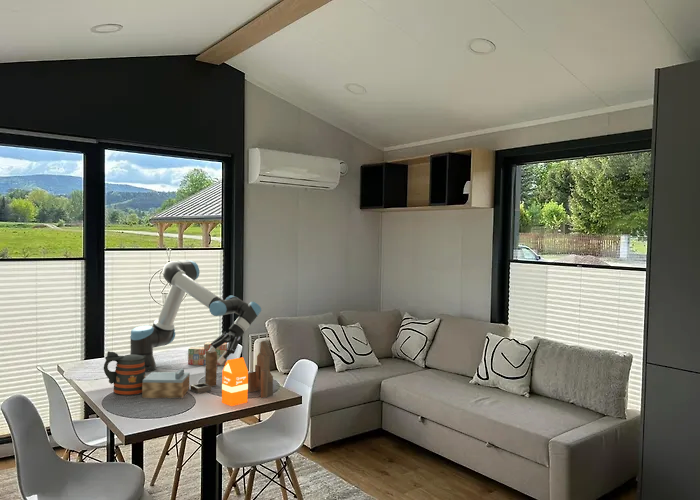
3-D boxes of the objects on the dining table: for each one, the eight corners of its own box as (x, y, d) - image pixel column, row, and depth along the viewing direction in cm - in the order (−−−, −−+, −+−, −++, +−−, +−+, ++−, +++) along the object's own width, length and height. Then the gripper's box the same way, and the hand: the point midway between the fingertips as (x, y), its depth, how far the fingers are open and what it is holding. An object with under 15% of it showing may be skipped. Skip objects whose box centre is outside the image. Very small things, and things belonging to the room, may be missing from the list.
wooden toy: (245, 390, 261) (246, 340, 261) (257, 388, 266) (258, 338, 265) (262, 398, 250) (264, 345, 249) (274, 395, 254) (276, 343, 254)
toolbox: (142, 397, 247) (142, 382, 246) (151, 389, 261) (151, 374, 260) (182, 397, 248) (182, 382, 248) (189, 389, 262) (189, 375, 262)
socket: (197, 393, 255) (197, 388, 255) (190, 390, 260) (190, 385, 260) (211, 390, 260) (211, 385, 260) (203, 387, 265) (203, 382, 265)
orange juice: (247, 402, 244) (248, 358, 243) (231, 406, 237) (232, 361, 237) (237, 398, 249) (238, 355, 249) (221, 402, 243) (222, 358, 242)
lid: (142, 382, 246) (142, 374, 246) (151, 374, 260) (152, 367, 260) (182, 382, 248) (182, 374, 248) (189, 374, 262) (189, 367, 261)
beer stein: (106, 398, 244) (106, 355, 243) (101, 390, 256) (102, 349, 256) (149, 393, 254) (150, 351, 254) (143, 385, 267) (143, 345, 266)
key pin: (209, 386, 267) (209, 352, 267) (205, 384, 270) (205, 351, 270) (216, 385, 270) (216, 351, 270) (212, 383, 273) (213, 350, 272)
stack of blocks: (187, 364, 311) (188, 343, 310) (190, 362, 317) (190, 341, 317) (224, 365, 311) (225, 344, 311) (226, 362, 318) (227, 342, 317)
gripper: (256, 336, 272) (229, 369, 262) (230, 328, 290) (204, 360, 280) (247, 326, 268) (220, 360, 258) (222, 319, 286) (195, 351, 277)
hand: (212, 360), depth 269 cm, fingers open, 13 cm apart
